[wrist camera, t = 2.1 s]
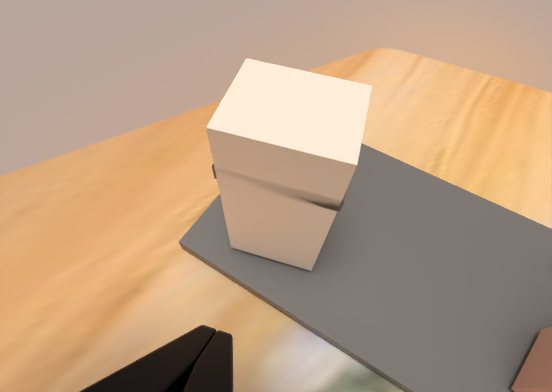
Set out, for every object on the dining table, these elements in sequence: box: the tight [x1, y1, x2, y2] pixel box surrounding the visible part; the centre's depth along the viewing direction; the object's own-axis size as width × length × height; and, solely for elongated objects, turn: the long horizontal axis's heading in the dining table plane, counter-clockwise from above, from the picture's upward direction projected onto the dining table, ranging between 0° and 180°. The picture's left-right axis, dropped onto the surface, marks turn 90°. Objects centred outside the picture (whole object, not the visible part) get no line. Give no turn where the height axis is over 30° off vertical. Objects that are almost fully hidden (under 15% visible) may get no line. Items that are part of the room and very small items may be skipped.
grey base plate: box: [179, 143, 552, 392], centre depth 18 cm, size 14×27×5 cm, turn 59°
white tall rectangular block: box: [206, 59, 372, 271], centre depth 15 cm, size 4×5×10 cm
